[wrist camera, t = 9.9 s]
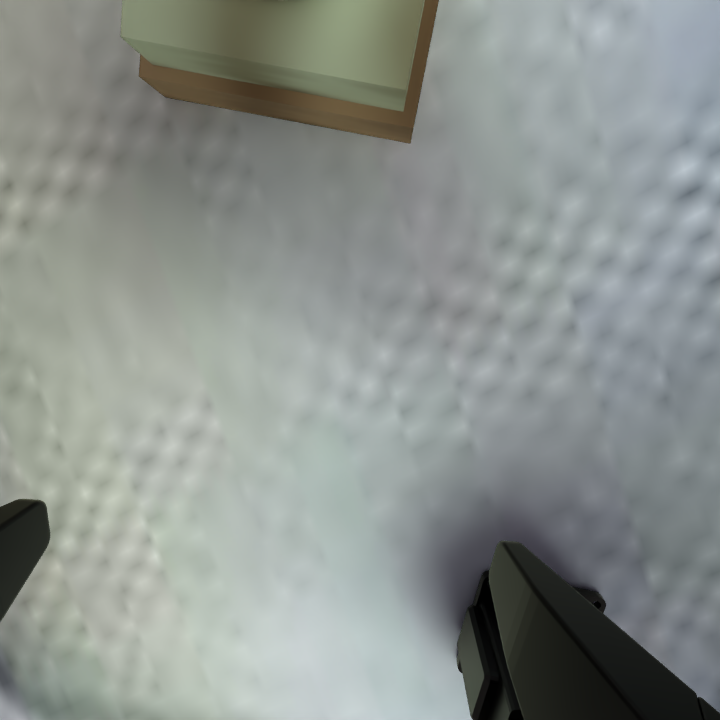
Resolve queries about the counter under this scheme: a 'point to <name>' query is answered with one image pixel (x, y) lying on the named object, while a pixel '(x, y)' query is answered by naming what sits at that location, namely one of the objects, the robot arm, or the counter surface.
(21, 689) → the counter surface
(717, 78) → the counter surface
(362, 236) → the counter surface
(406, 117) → the tower base
